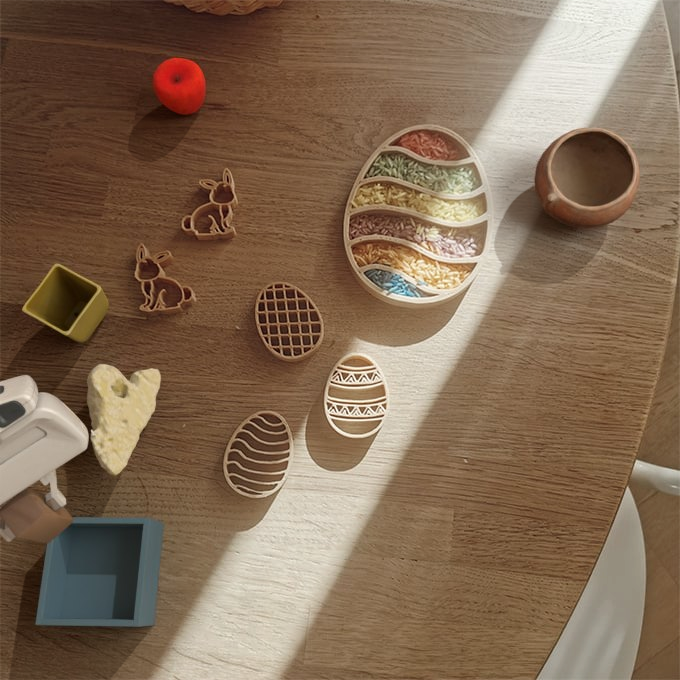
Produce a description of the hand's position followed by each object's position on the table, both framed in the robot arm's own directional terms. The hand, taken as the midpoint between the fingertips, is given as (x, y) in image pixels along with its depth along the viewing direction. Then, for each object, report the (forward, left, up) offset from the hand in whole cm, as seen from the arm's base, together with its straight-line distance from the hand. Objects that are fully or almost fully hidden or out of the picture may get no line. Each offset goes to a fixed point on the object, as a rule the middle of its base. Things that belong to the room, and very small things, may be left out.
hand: (38, 520), depth 82 cm
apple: (+5, +74, -24) cm, 78 cm away
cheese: (+1, +16, -24) cm, 29 cm away
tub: (0, -5, -24) cm, 24 cm away
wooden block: (0, +1, -5) cm, 5 cm away
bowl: (+70, +54, -24) cm, 92 cm away
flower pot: (-8, +33, -24) cm, 42 cm away
